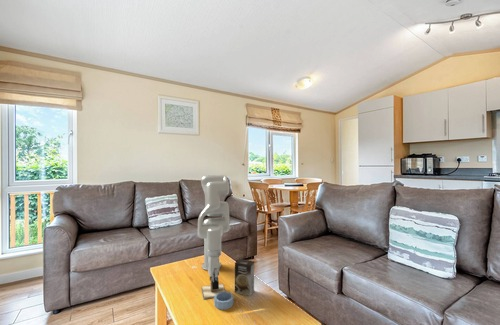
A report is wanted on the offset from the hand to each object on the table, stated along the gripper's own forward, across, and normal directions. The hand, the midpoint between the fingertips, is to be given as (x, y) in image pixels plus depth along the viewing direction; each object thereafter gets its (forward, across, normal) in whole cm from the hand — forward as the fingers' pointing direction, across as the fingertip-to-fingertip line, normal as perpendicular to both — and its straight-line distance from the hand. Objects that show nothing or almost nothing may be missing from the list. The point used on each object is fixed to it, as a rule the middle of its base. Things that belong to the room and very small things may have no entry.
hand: (214, 284), depth 124 cm
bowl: (+5, +12, +3) cm, 13 cm away
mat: (+5, 0, 0) cm, 5 cm away
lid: (+4, 0, 0) cm, 4 cm away
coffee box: (+5, +4, +16) cm, 17 cm away
